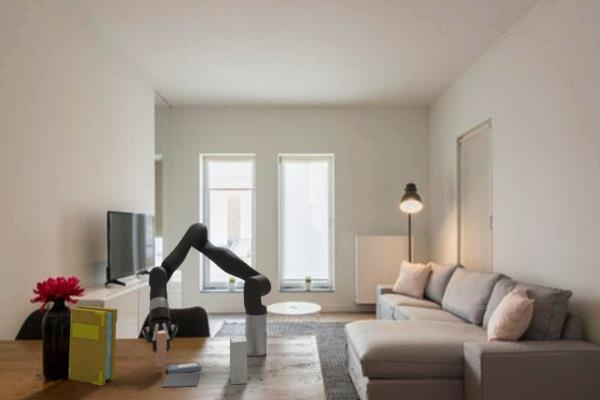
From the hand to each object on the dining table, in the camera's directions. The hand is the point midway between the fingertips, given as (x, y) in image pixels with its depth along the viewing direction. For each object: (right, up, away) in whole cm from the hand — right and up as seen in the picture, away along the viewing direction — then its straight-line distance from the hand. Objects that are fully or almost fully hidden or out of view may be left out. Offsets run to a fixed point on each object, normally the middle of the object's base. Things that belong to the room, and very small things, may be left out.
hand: (161, 350), depth 161 cm
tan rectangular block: (-1, -6, +2) cm, 6 cm away
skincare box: (+29, -9, -5) cm, 31 cm away
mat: (+9, -8, -6) cm, 14 cm away
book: (-24, -8, -6) cm, 26 cm away
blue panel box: (+7, -9, +5) cm, 12 cm away
